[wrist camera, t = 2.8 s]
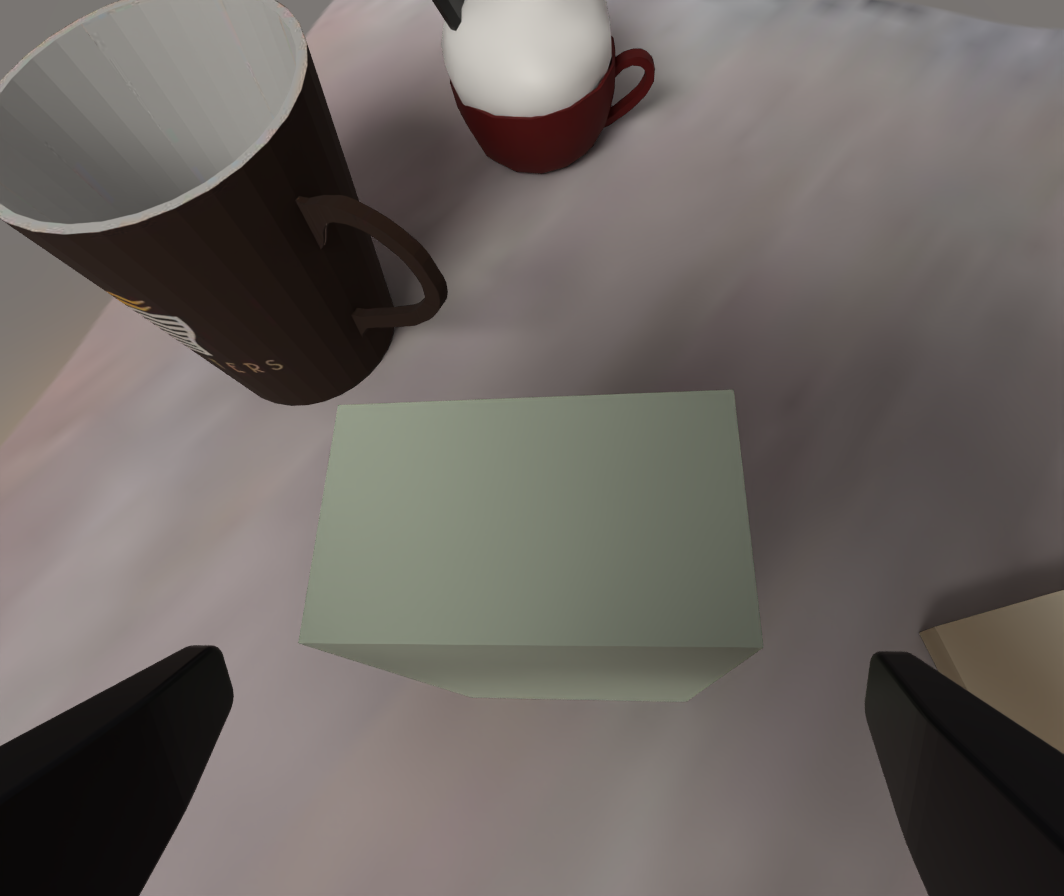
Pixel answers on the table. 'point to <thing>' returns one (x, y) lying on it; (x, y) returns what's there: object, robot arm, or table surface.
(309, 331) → the coffee mug
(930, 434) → the table surface
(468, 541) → the sage green box
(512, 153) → the cocoa
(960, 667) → the ledge board
